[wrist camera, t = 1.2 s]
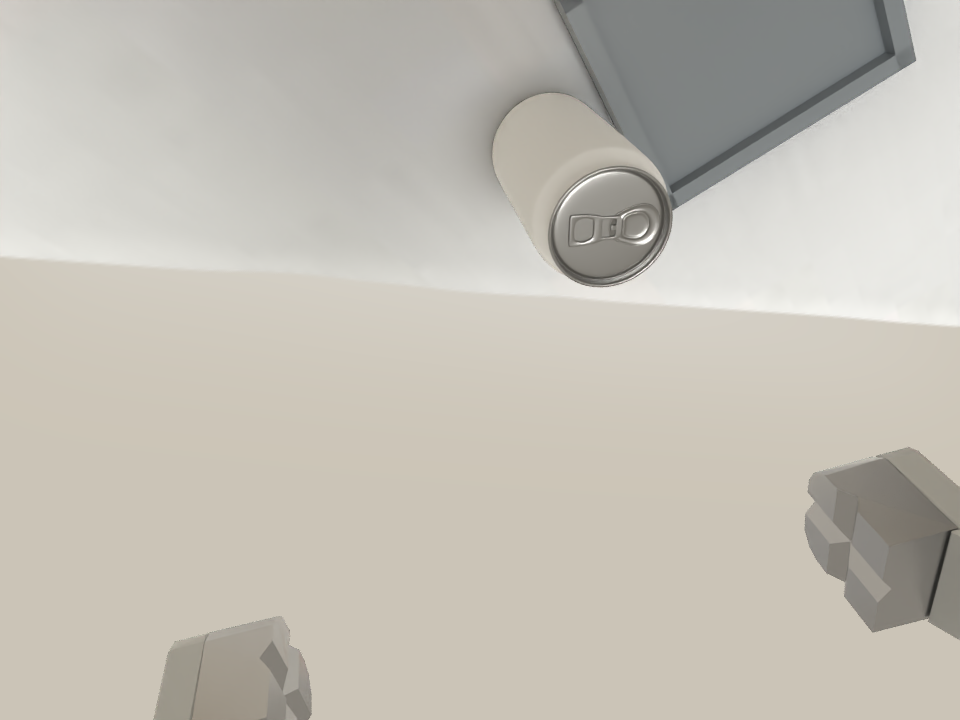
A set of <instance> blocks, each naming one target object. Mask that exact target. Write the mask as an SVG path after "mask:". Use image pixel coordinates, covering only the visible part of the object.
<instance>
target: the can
mask: <svg viewBox="0 0 960 720" xmlns="http://www.w3.org/2000/svg"><path fill="white" fill-rule="evenodd" d="M492 160H493V166H494V170H495V173H496V176H497V178H498V180H499V182H500V184H501V186H502V188H503V190H504V192H505V194H506V196H507V197H508V199H509V201H510V203H511V205H512V207H513V208H514V210H515V212H516V214H517V216H518V218H519V219H520V221H521V223H522V225H523V227H524V228H525V230H526V232H527V234H528V235H529V237H530V239H531V241H532V242H533V244H534V246H535V248H536V249H537V251H538V252H539V254H540V255H541V257H542V258H543V259H544V260H545V261H546V262H547V263H548V264H549V265H550V266H551V267H552V268H553V269H555V270H556V271H558V272H559V273H561V274H563V275H566V276H567V277H568V278H570V279H571V280H573V281H575V282H577V283H580V284H582V285H586V286H591V287H609V286H615V285H618V284H622V283H624V282H627V281H629V280H631V279H633V278H635V277H637V276H638V275H640V274H641V273H643V272H644V271H645V270H646V269H648V268H649V267H650V266H651V265H652V264H653V263H654V262H655V260H656V259H657V258H658V257H659V255H660V254H661V252H662V251H663V249H664V247H665V245H666V243H667V241H668V238H669V235H670V232H671V227H672V216H673V215H672V206H671V202H670V199H669V196H668V194H667V190H666V186H665V183H664V180H663V178H662V176H661V174H660V172H659V171H658V169H657V168H656V167H655V165H654V164H653V163H652V162H651V161H650V160H649V159H648V158H647V157H646V156H645V155H644V154H643V153H642V152H641V151H640V150H638V149H637V148H636V147H635V146H634V145H633V144H632V143H631V142H629V141H628V140H627V139H626V138H625V137H624V136H622V135H621V134H620V133H619V132H618V131H617V130H615V129H614V128H613V127H612V126H611V125H610V124H608V123H607V122H606V121H605V120H604V119H603V118H601V117H600V116H599V115H598V114H597V113H595V112H594V111H593V110H592V109H591V108H589V107H588V106H587V105H586V104H584V103H583V102H582V101H580V100H578V99H576V98H574V97H572V96H570V95H566V94H562V93H543V94H538V95H535V96H532V97H530V98H528V99H526V100H524V101H522V102H521V103H519V104H518V105H517V106H515V107H514V108H513V109H512V110H511V111H510V112H509V113H508V114H507V115H506V117H505V118H504V119H503V121H502V122H501V124H500V126H499V128H498V130H497V132H496V135H495V138H494V142H493V149H492Z"/></svg>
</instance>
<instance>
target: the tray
mask: <svg viewBox="0 0 960 720" xmlns="http://www.w3.org/2000/svg"><path fill="white" fill-rule="evenodd" d="M554 2H555V4H556V6H557V8H558V11H559V13H560V15H561V17H562V19H563V21H564V23H565V25H566V27H567V29H568V31H569V33H570V35H571V37H572V39H573V41H574V43H575V45H576V47H577V49H578V51H579V53H580V55H581V58H582V60H583V62H584V64H585V66H586V68H587V70H588V72H589V74H590V76H591V78H592V80H593V82H594V84H595V86H596V88H597V90H598V92H599V94H600V96H601V98H602V100H603V102H604V105H605V107H606V109H607V111H608V113H609V115H610V117H611V119H612V121H613V123H614V125H615V127H616V129H617V131H618V132H619V133H620V134H621V135H622V136H624V137H625V138H626V139H627V140H628V141H629V142H631V143H632V144H633V145H634V146H635V147H636V148H637V149H638V150H640V151H641V152H642V153H643V154H644V155H645V156H646V157H647V158H648V159H649V160H650V161H651V162H652V163H653V164H654V165H655V167H656V168H657V169H658V171H659V172H660V174H661V176H662V178H663V180H664V183H665V186H666V190H667V194H668V196H669V199H670V202H671V206H672V210H674V209H676V208H677V207H679V206H681V205H682V204H684V203H686V202H687V201H689V200H690V199H692V198H694V197H695V196H697V195H699V194H700V193H702V192H703V191H705V190H707V189H708V188H710V187H712V186H713V185H715V184H716V183H718V182H720V181H721V180H723V179H725V178H726V177H728V176H729V175H731V174H733V173H734V172H736V171H738V170H739V169H741V168H742V167H744V166H746V165H747V164H749V163H751V162H752V161H754V160H755V159H757V158H759V157H760V156H762V155H764V154H765V153H767V152H768V151H770V150H772V149H773V148H775V147H777V146H778V145H780V144H781V143H783V142H785V141H786V140H788V139H790V138H791V137H793V136H794V135H796V134H798V133H799V132H801V131H803V130H804V129H806V128H807V127H809V126H811V125H812V124H814V123H816V122H817V121H819V120H820V119H822V118H824V117H825V116H827V115H829V114H830V113H832V112H833V111H835V110H837V109H838V108H840V107H842V106H843V105H845V104H846V103H848V102H850V101H851V100H853V99H855V98H856V97H858V96H860V95H861V94H863V93H864V92H866V91H868V90H869V89H871V88H873V87H874V86H876V85H877V84H879V83H881V82H882V81H884V80H886V79H887V78H889V77H890V76H892V75H894V74H895V73H897V72H899V71H900V70H902V69H903V68H905V67H907V66H908V65H910V64H912V63H913V62H915V61H916V57H915V53H914V48H913V43H912V39H911V34H910V29H909V25H908V20H907V15H906V11H905V6H904V1H903V0H554Z"/></svg>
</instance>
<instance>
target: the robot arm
mask: <svg viewBox="0 0 960 720" xmlns="http://www.w3.org/2000/svg"><path fill="white" fill-rule="evenodd" d="M808 493H809V494H810V495H811V497H812V498H813V499H814V500H815V502H814V503H813V505H812V506H811V507H810V509H809V510H808V511H807V512H806V515H805V532H806V536H807V540H808V543H809V547H810V548H811V550H812V552H813V554H814V556H815V558H816V560H817V561H818V562H819V564H820V565H821V566H822V568H823V569H824V571H825V572H826V573H827V574H830V575H832V576H834V577H836V578H838V579H840V580H842V581H844V582H845V591H844V597H845V598H846V599H847V601H848V602H849V603H850V604H851V606H852V607H853V608H854V609H855V611H856V612H857V613H858V615H859V616H860V617H861V618H862V620H863V621H864V622H865V624H866V625H867V626H868V627H869V629H870V630H871V631H872V632H876V631H880V630H884V629H888V628H892V627H896V626H900V625H904V624H908V623H912V622H916V621H920V620H924V619H928V618H929V620H928V622H930V623H931V624H933V625H935V626H936V627H938V628H940V629H942V630H943V631H945V632H947V633H948V634H950V635H952V636H954V637H955V638H957V639H959V640H960V487H959V486H957V485H956V484H955V483H954V482H953V481H952V480H950V479H949V478H948V477H947V476H946V475H945V474H944V473H943V472H942V471H940V470H939V469H938V468H937V467H936V466H935V465H934V464H932V463H931V462H930V461H929V460H928V459H927V458H926V457H924V456H923V455H922V454H921V453H920V452H919V451H917V450H915V449H912V448H910V447H908V448H904V449H900V450H897V451H893V452H889V453H886V454H882V455H878V456H876V457H869V458H866V459H862V460H858V461H855V462H851V463H848V464H844V465H840V466H837V467H833V468H830V469H826V470H823V471H819V472H815V473H814V474H813V475H812V477H811V478H810V479H809V486H808ZM289 635H290V630H289V628H288V627H287V625H286V623H285V621H284V619H283V618H282V617H273V618H269V619H264V620H260V621H256V622H252V623H248V624H243V625H240V626H235V627H231V628H227V629H222V630H218V631H214V632H210V633H208V634H203V635H199V636H196V637H191V638H188V639H184V640H179V641H175V642H174V644H173V646H172V647H171V649H170V651H169V652H168V655H167V660H166V665H165V669H164V674H163V679H162V683H161V688H160V692H159V697H158V701H157V706H156V711H155V715H154V719H153V720H308V719H309V718H310V716H311V689H310V681H309V674H308V671H307V668H306V664H305V661H304V659H303V657H302V654H301V652H300V651H299V649H297V648H294V647H292V646H290V645H289Z"/></svg>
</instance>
